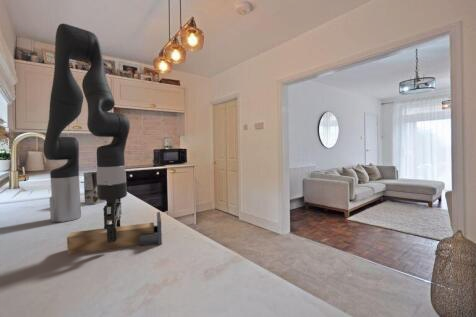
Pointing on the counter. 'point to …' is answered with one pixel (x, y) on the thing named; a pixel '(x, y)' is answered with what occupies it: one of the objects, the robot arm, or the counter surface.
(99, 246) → the rail
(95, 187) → the coffee box
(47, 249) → the counter surface
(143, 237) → the cup bracket
